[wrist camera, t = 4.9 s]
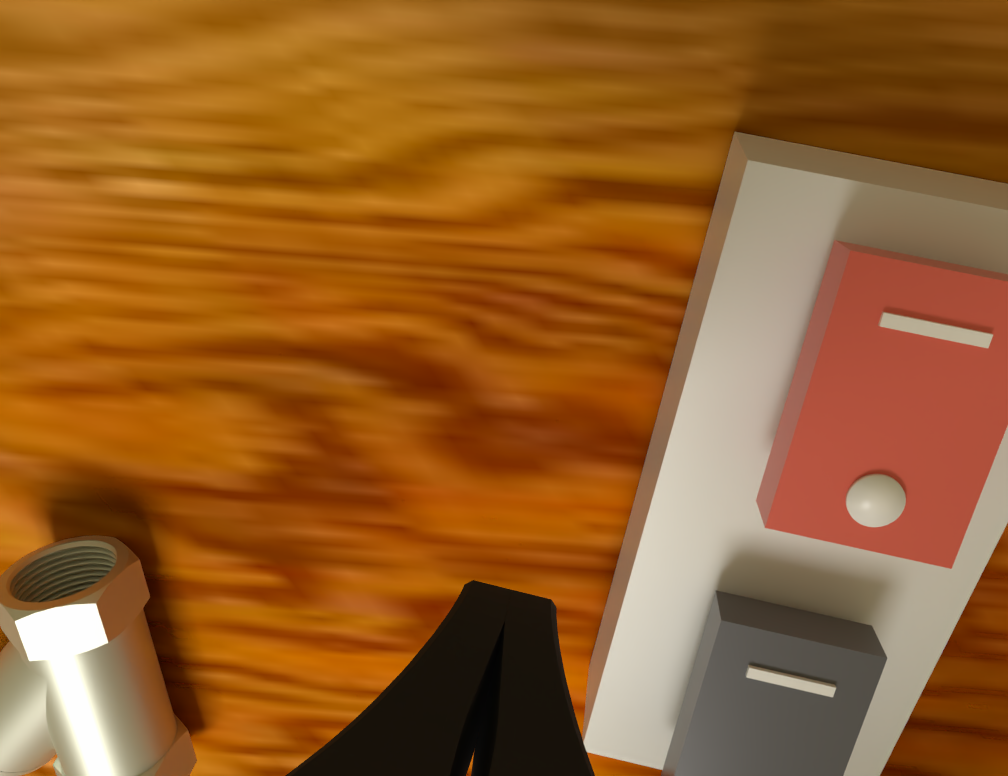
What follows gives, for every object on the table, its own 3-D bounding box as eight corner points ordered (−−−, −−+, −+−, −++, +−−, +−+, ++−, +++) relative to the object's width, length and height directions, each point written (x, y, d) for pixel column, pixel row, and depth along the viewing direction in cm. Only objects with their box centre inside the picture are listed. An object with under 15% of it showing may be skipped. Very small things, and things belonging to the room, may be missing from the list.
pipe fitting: (37, 714, 31) (213, 740, 29) (-50, 809, 27) (144, 844, 26) (-36, 518, 27) (158, 535, 26) (-147, 598, 24) (70, 623, 22)
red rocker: (834, 240, 16) (852, 251, 15) (1028, 278, 16) (1062, 293, 14) (756, 500, 18) (765, 530, 16) (930, 538, 17) (953, 571, 16)
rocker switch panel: (734, 131, 19) (747, 160, 16) (1077, 197, 18) (1151, 238, 15) (589, 667, 25) (581, 750, 23) (836, 724, 25) (858, 817, 22)
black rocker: (715, 589, 19) (721, 623, 18) (872, 625, 19) (888, 660, 18) (659, 779, 21) (662, 821, 20) (803, 813, 21) (814, 858, 20)
